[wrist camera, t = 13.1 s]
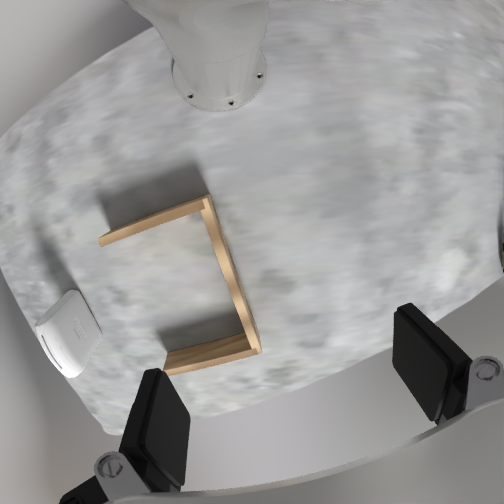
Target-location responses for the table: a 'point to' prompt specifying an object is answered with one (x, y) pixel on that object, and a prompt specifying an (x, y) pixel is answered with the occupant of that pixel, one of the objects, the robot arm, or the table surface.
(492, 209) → the table surface
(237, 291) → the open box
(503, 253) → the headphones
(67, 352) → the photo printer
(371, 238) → the table surface
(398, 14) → the table surface
